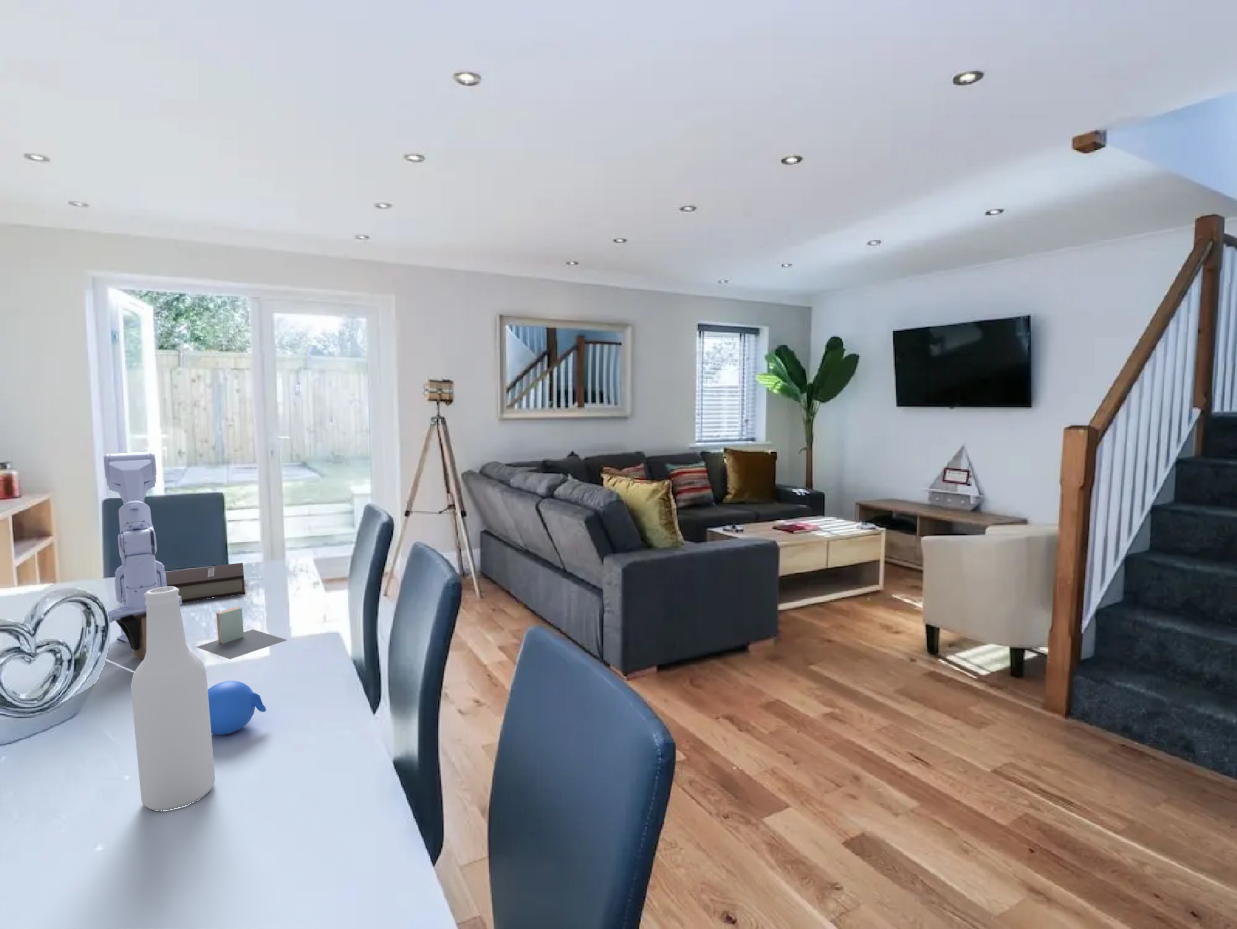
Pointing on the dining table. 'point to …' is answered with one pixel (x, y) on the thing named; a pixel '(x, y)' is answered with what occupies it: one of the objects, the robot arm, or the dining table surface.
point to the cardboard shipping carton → (141, 636)
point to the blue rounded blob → (232, 706)
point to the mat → (242, 644)
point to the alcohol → (171, 711)
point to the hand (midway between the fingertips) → (146, 645)
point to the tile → (230, 625)
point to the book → (207, 582)
